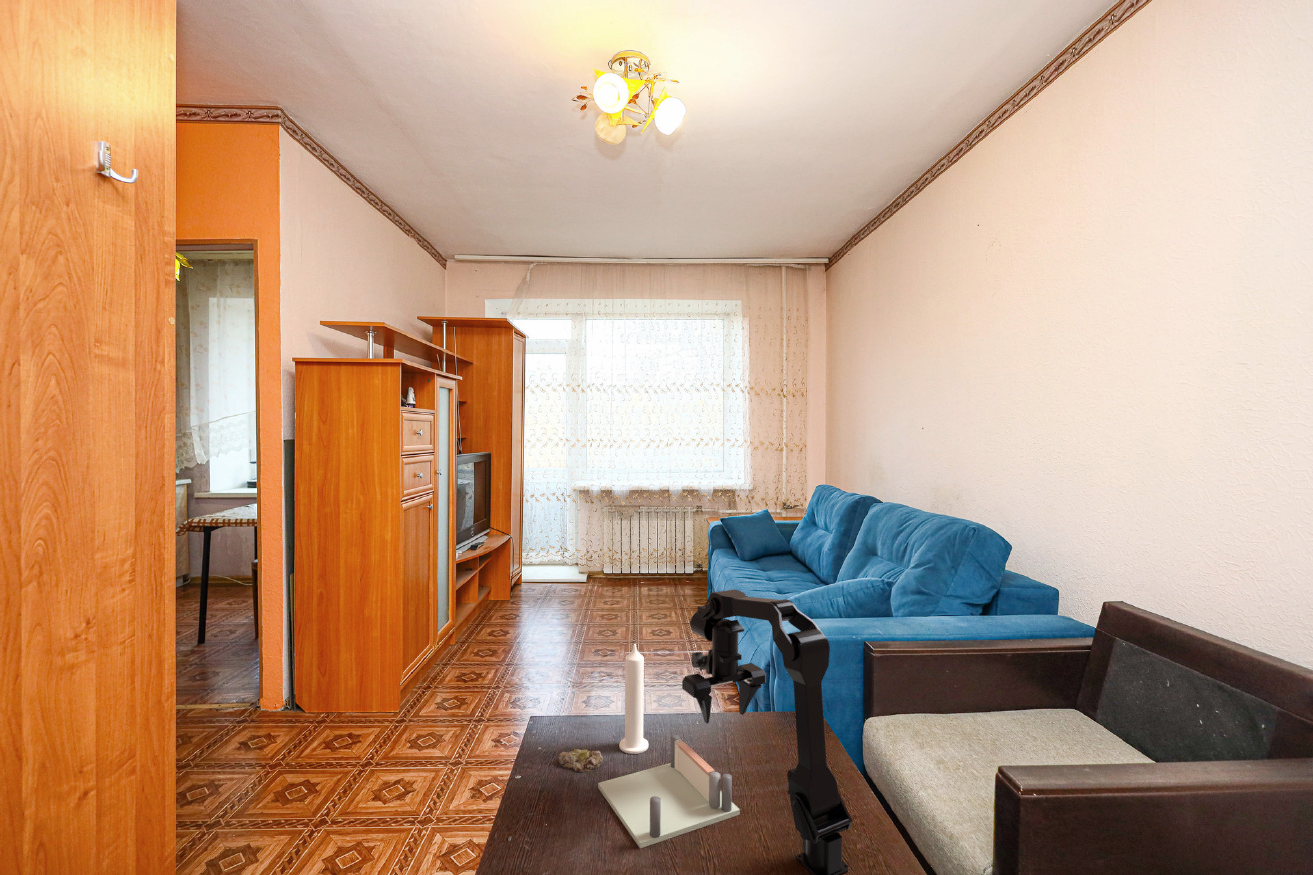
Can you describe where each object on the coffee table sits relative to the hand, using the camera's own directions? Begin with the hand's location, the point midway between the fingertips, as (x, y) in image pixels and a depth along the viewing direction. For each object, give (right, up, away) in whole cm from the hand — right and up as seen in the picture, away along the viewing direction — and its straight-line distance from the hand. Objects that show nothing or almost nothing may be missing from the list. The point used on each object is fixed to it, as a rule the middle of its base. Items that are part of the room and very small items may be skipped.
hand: (724, 718), depth 131 cm
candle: (-20, -13, +13) cm, 28 cm away
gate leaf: (-6, -12, -5) cm, 14 cm away
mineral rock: (-32, -14, +6) cm, 36 cm away
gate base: (-13, -13, -8) cm, 20 cm away
